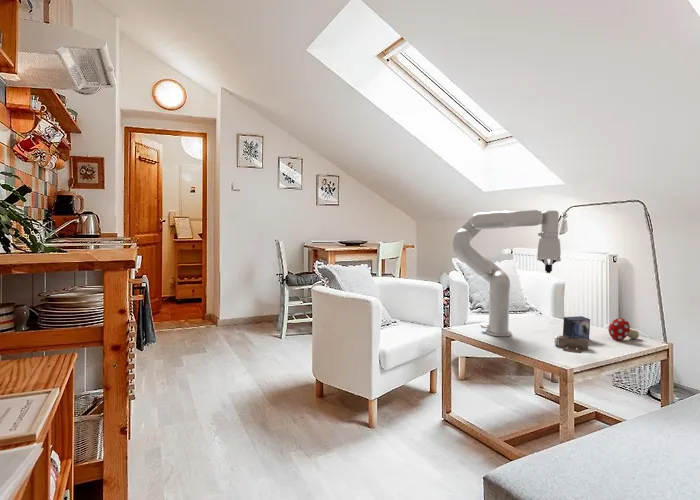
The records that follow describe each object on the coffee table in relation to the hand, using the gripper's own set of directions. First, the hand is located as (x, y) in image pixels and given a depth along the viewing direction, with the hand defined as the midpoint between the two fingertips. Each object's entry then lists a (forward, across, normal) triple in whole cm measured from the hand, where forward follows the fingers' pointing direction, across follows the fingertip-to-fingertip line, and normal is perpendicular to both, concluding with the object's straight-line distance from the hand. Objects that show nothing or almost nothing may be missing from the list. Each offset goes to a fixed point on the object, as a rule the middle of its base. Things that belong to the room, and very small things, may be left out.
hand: (548, 272), depth 224 cm
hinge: (+32, +13, -14) cm, 37 cm away
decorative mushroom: (+32, +34, +13) cm, 49 cm away
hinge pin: (+32, +13, -14) cm, 37 cm away
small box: (+32, +13, +3) cm, 35 cm away
